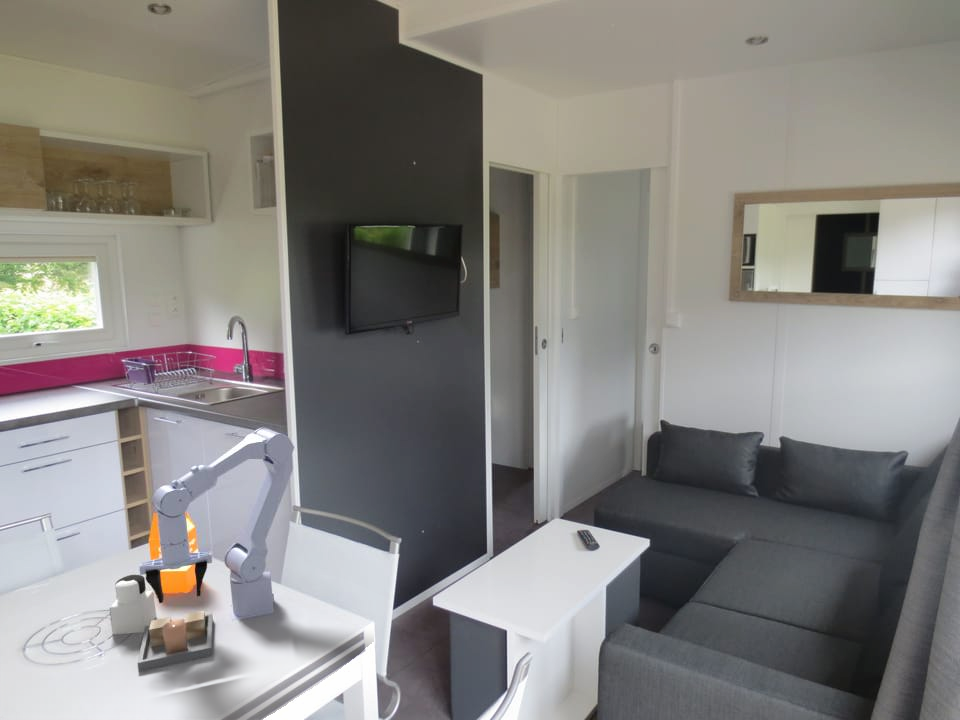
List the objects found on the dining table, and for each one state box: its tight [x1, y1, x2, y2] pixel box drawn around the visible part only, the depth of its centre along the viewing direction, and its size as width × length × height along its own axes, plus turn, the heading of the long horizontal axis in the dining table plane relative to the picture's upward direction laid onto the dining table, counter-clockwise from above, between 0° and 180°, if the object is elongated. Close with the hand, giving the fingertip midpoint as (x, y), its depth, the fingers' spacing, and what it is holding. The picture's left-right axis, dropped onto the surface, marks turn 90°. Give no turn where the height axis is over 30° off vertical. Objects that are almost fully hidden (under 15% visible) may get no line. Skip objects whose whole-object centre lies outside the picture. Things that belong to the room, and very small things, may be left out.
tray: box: [137, 613, 214, 672], centre depth 148 cm, size 14×15×2 cm
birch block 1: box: [149, 616, 172, 647], centre depth 150 cm, size 4×4×4 cm
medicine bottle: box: [109, 574, 157, 635], centre depth 156 cm, size 7×7×12 cm
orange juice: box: [148, 512, 199, 594], centre depth 175 cm, size 8×9×20 cm
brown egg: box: [163, 619, 188, 655], centre depth 146 cm, size 4×4×6 cm
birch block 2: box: [184, 610, 206, 639], centre depth 153 cm, size 4×4×4 cm
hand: (180, 597), depth 151 cm, fingers open, 7 cm apart
